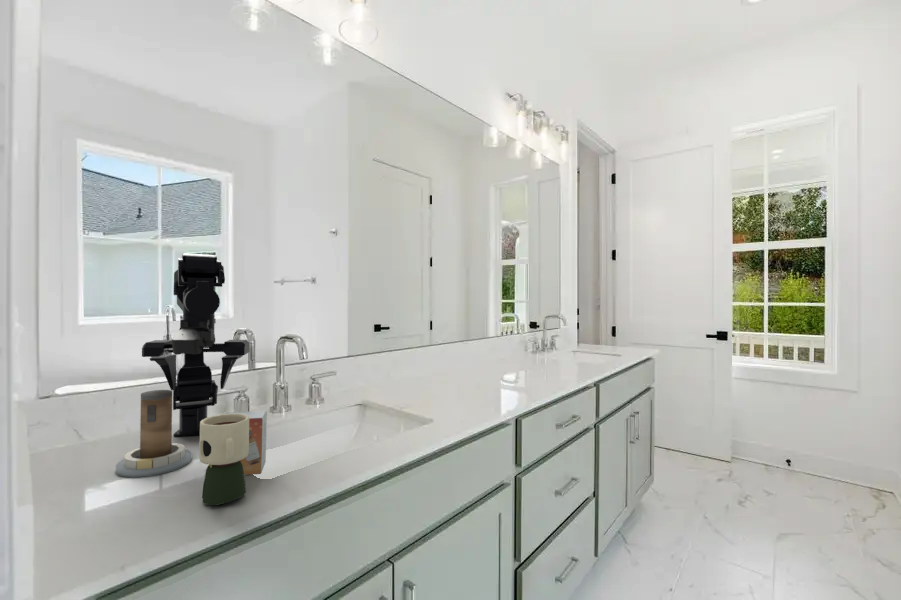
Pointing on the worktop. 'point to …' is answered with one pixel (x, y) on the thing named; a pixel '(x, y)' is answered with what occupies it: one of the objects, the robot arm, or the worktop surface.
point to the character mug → (224, 456)
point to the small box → (255, 442)
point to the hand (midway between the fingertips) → (198, 389)
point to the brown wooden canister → (156, 424)
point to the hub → (153, 462)
